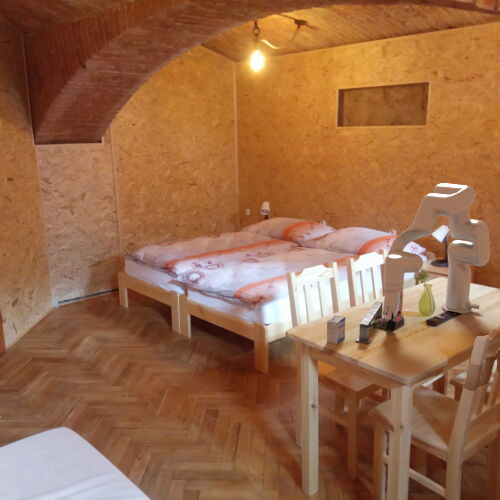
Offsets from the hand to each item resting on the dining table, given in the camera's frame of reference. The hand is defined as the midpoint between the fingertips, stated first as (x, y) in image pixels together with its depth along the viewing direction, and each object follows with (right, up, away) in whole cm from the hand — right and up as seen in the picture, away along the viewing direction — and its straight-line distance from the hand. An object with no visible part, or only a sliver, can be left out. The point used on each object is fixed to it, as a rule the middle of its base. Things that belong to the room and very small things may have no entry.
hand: (390, 329), depth 207 cm
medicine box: (-23, -3, -7) cm, 25 cm away
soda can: (+7, +4, +22) cm, 23 cm away
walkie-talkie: (-1, 0, +6) cm, 6 cm away
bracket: (-7, 0, +4) cm, 8 cm away
